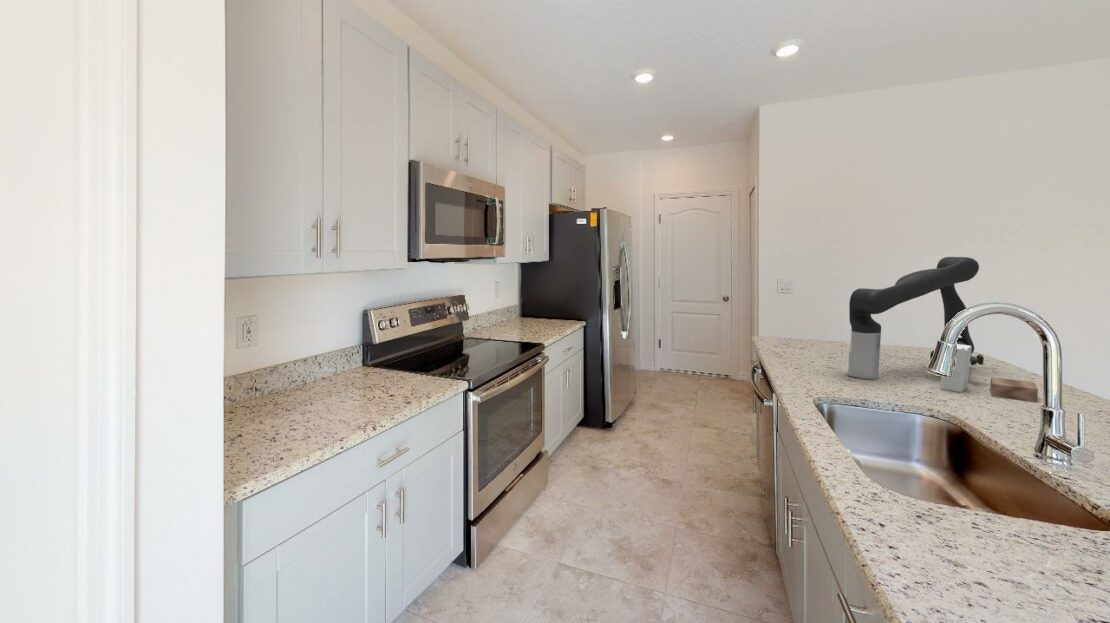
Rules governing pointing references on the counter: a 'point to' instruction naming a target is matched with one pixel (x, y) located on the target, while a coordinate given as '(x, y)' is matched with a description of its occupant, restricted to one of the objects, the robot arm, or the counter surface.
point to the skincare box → (959, 370)
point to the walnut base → (1013, 389)
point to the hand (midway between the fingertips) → (956, 361)
